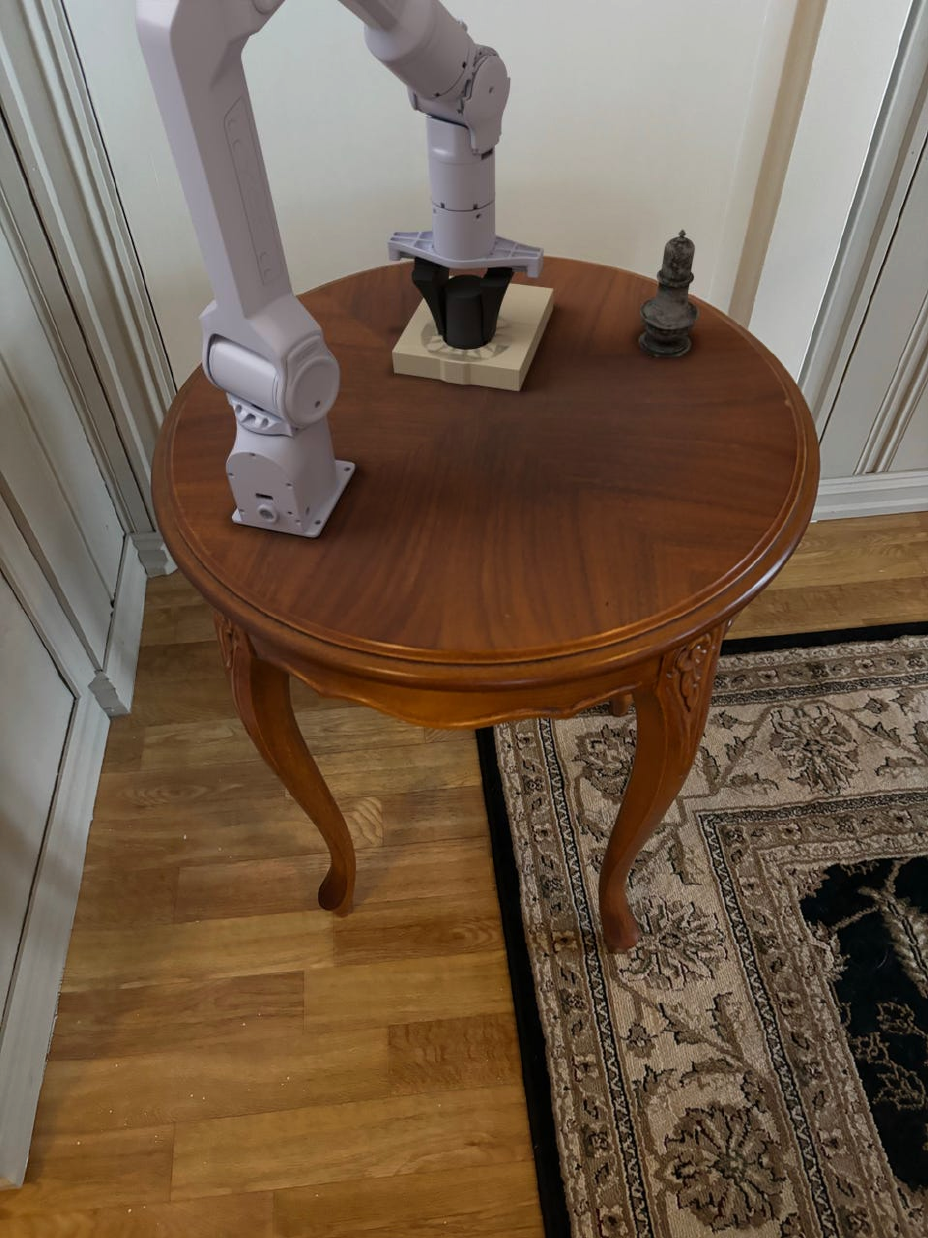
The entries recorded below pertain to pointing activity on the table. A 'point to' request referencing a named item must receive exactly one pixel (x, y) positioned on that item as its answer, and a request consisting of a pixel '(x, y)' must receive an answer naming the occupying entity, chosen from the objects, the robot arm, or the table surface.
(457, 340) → the dark grey cylinder
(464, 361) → the back plate
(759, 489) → the table surface
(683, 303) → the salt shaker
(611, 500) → the table surface
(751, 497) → the table surface
